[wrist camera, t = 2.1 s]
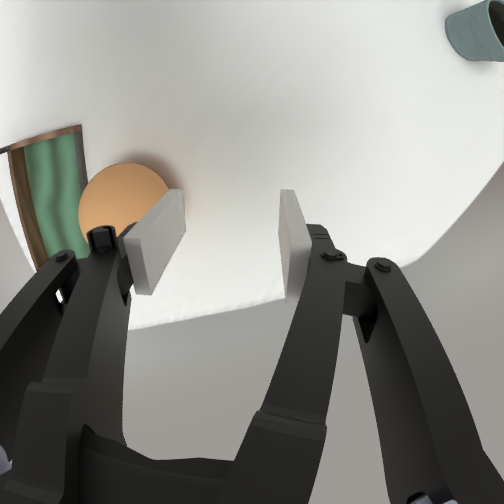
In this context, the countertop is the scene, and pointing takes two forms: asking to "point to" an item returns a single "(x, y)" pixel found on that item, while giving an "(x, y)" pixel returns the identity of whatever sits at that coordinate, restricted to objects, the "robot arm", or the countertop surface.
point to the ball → (119, 196)
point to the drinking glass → (478, 31)
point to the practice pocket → (50, 191)
